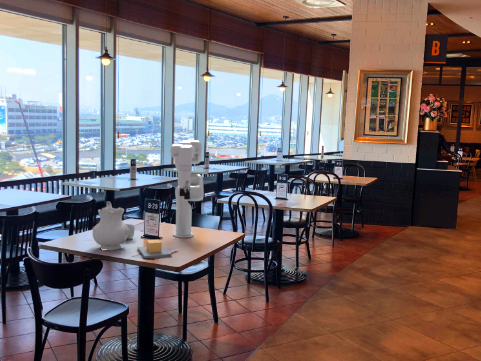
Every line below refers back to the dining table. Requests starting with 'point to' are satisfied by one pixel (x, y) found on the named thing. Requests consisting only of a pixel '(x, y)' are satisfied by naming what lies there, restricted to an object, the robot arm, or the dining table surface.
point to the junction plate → (153, 253)
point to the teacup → (130, 230)
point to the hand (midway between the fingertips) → (184, 197)
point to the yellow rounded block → (154, 246)
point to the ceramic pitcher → (110, 228)
